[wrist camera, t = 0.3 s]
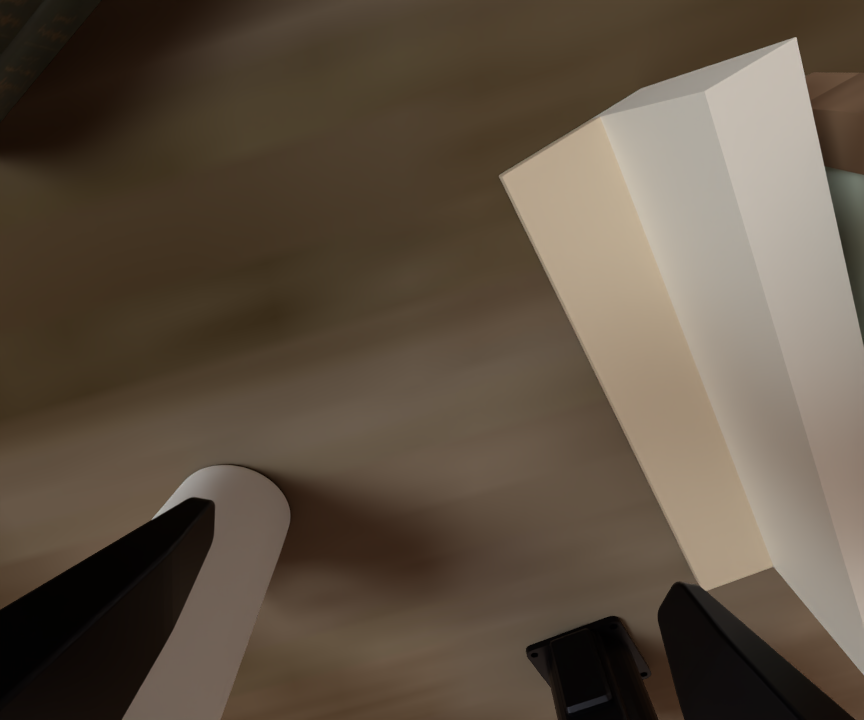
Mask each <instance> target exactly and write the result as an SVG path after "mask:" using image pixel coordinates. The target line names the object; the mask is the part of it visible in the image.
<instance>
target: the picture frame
mask: <svg viewBox="0 0 864 720" xmlns="http://www.w3.org/2000/svg"><path fill="white" fill-rule="evenodd" d="M805 80H806V84H807V89H808V94H809V98H810V103H811V107H812V112H813V116H814V121H815V126H816V130H817V135H818V139H819V144H820V149H821V153H822V158H823V162H824V167H825V172H826V176H827V181H828V185H829V190H830V194H831V199H832V204H833V208H834V213H835V217H836V222H837V227H838V231H839V236H840V240H841V245H842V250H843V254H844V259H845V263H846V268H847V272H848V277H849V282H850V286H851V291H852V295H853V300H854V305H855V309H856V314H857V318H858V323H859V328H860V332H861V337H862V341H863V346H864V73H820V72H813V73H811V74H809V75H807V76H806V77H805Z"/></svg>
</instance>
